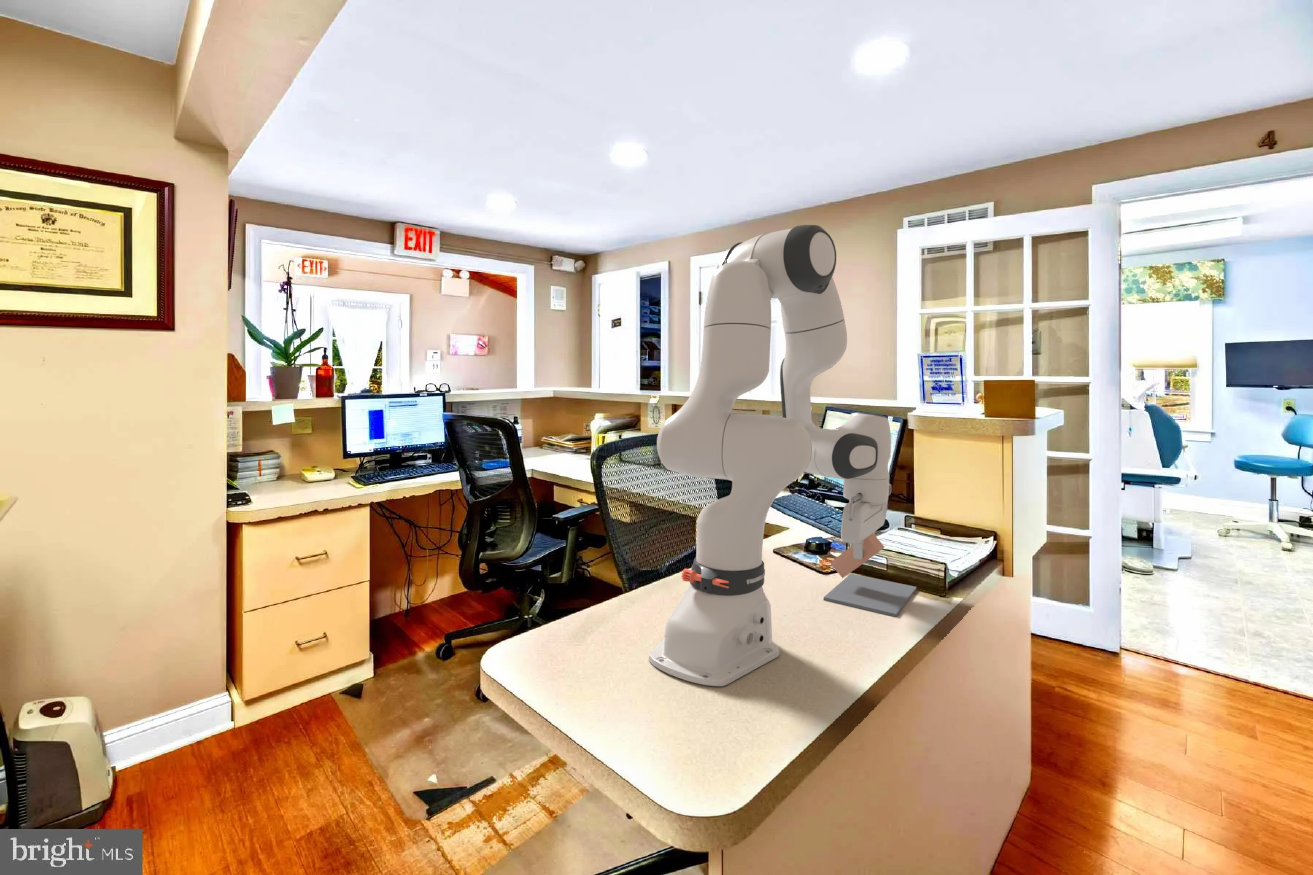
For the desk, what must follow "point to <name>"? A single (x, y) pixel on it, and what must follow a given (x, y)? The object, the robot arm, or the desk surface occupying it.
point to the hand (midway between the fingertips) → (862, 554)
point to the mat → (871, 594)
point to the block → (849, 563)
